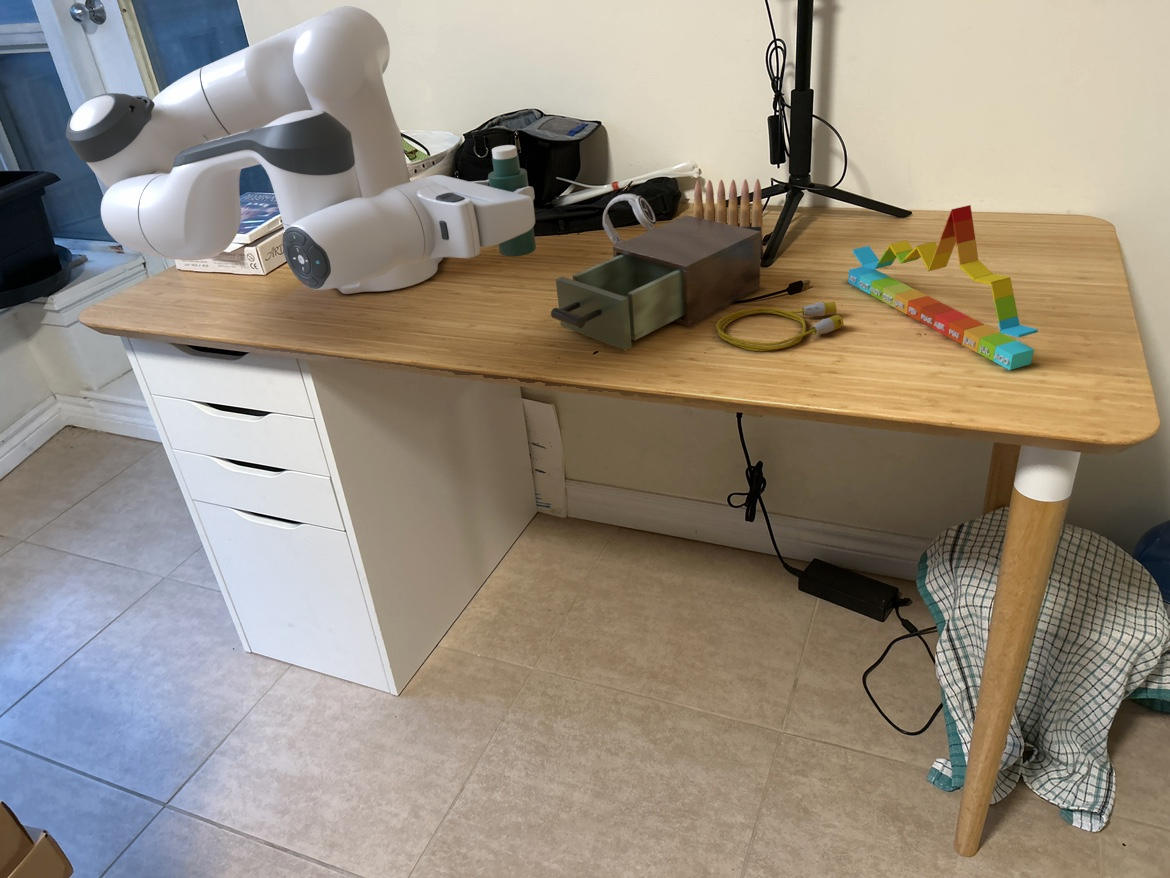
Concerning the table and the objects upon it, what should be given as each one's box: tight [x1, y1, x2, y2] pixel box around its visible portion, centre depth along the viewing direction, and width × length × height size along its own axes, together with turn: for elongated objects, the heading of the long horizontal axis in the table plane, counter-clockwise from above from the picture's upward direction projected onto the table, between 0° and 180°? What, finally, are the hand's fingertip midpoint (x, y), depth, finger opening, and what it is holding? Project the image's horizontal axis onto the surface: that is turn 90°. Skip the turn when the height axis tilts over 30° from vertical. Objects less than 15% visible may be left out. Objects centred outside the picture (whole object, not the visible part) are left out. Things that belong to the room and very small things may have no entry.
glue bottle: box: [487, 144, 537, 258], centre depth 107 cm, size 5×5×13 cm
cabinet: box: [612, 215, 761, 327], centre depth 118 cm, size 15×13×8 cm
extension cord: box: [715, 301, 845, 352], centre depth 108 cm, size 12×16×2 cm
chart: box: [847, 204, 1039, 371], centre depth 104 cm, size 30×3×15 cm, turn 20°
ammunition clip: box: [692, 178, 764, 260], centre depth 129 cm, size 11×2×12 cm, turn 75°
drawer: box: [550, 254, 684, 351], centre depth 111 cm, size 19×12×7 cm, turn 133°
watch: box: [602, 193, 657, 246], centre depth 130 cm, size 6×8×11 cm
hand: (515, 188), depth 107 cm, fingers closed on glue bottle, 5 cm apart
